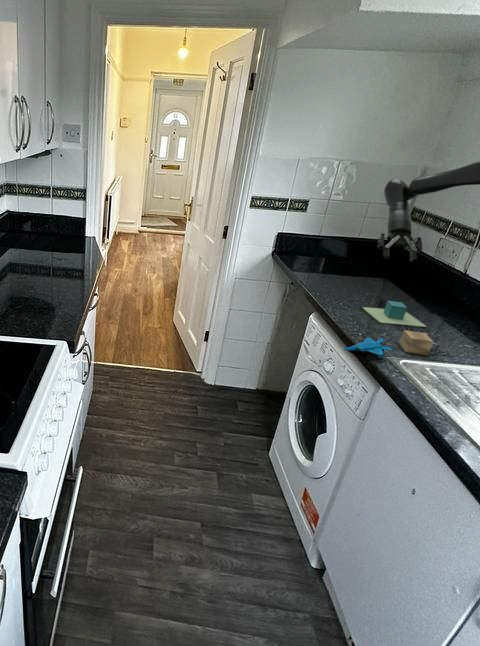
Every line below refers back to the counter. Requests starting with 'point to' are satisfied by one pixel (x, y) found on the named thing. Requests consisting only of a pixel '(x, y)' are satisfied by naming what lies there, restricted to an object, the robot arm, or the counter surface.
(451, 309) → the counter surface
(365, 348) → the toy airplane
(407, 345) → the base block
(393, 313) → the top cube
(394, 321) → the mat
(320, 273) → the counter surface
